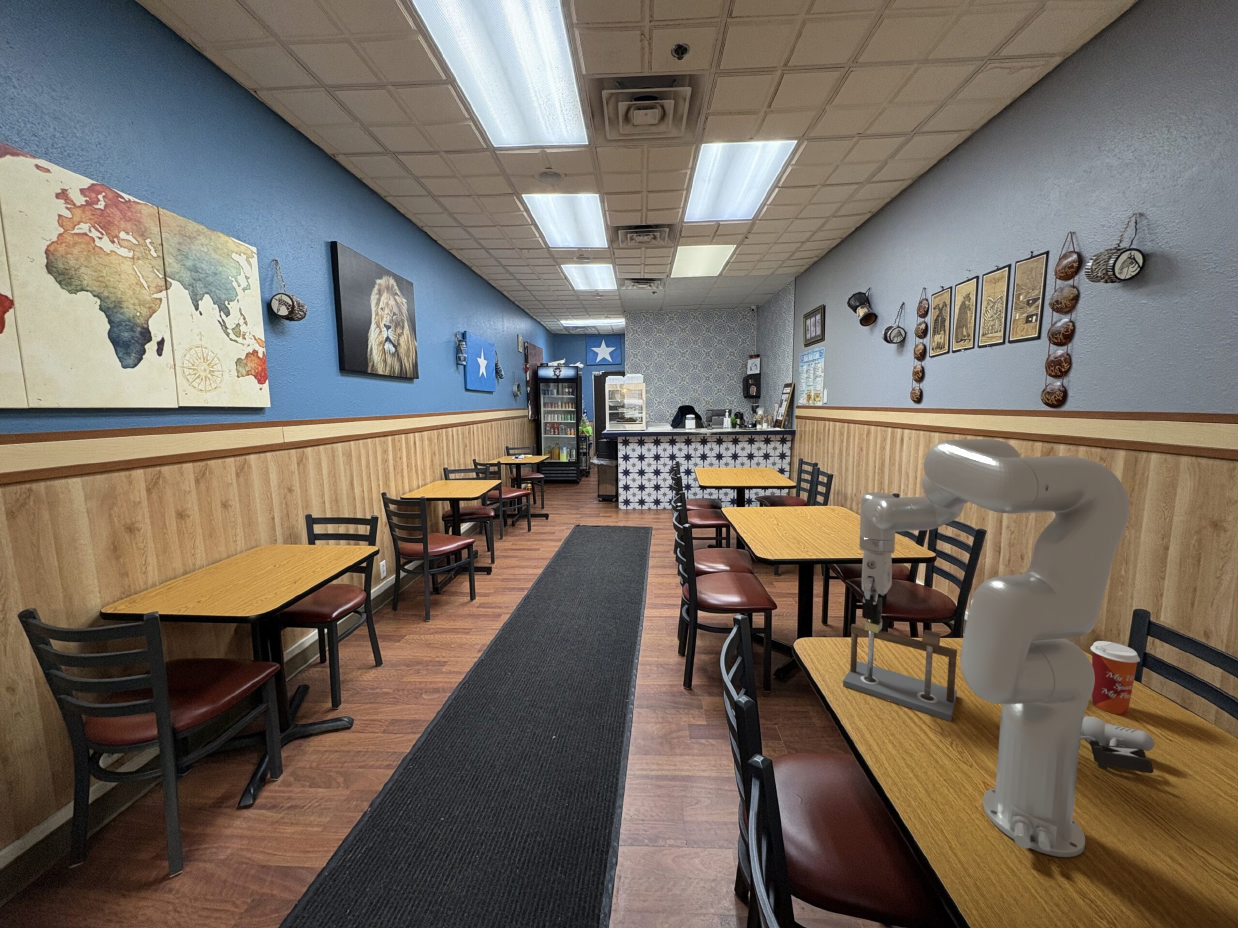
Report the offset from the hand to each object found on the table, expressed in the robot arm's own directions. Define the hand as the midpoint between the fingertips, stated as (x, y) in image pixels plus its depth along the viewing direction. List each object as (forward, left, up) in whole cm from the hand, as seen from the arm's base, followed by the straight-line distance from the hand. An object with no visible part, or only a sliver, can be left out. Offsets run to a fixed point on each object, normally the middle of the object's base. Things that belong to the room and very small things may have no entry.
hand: (874, 612), depth 117 cm
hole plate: (0, -6, -18) cm, 19 cm away
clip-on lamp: (+1, -38, -19) cm, 43 cm away
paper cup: (+22, -44, -18) cm, 52 cm away
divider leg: (0, 0, -16) cm, 16 cm away
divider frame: (0, -6, -17) cm, 18 cm away
